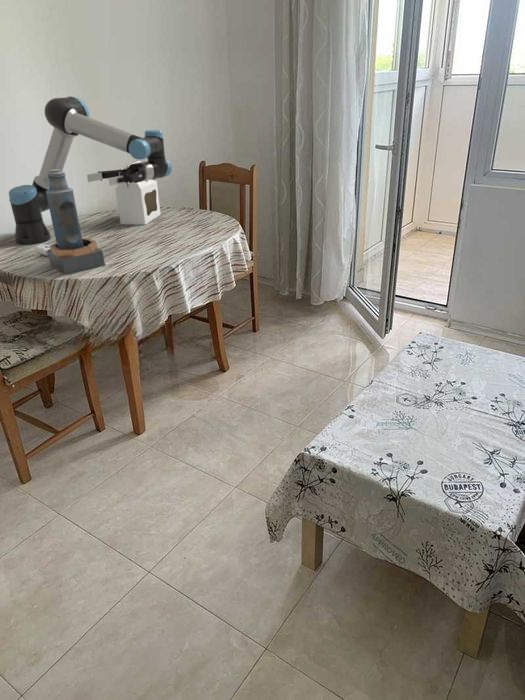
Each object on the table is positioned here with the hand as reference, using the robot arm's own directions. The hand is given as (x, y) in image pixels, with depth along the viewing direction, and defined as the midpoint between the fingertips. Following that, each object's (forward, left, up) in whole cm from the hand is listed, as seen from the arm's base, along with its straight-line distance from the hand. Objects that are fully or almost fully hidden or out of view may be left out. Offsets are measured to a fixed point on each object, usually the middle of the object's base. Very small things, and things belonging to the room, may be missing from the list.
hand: (98, 180), depth 207 cm
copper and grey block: (+5, -16, -30) cm, 34 cm away
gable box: (-45, +38, -30) cm, 66 cm away
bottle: (+3, -17, -24) cm, 30 cm away
